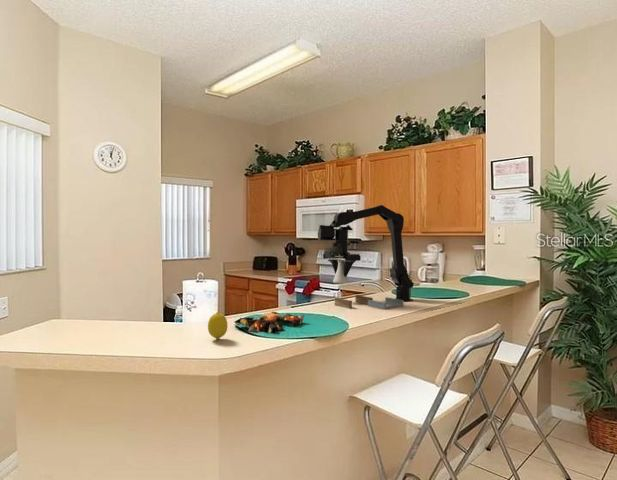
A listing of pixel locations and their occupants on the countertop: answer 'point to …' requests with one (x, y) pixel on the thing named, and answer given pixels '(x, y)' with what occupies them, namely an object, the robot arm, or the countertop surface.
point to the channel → (349, 303)
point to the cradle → (386, 303)
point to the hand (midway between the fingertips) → (341, 275)
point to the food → (269, 322)
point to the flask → (340, 274)
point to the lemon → (217, 325)
